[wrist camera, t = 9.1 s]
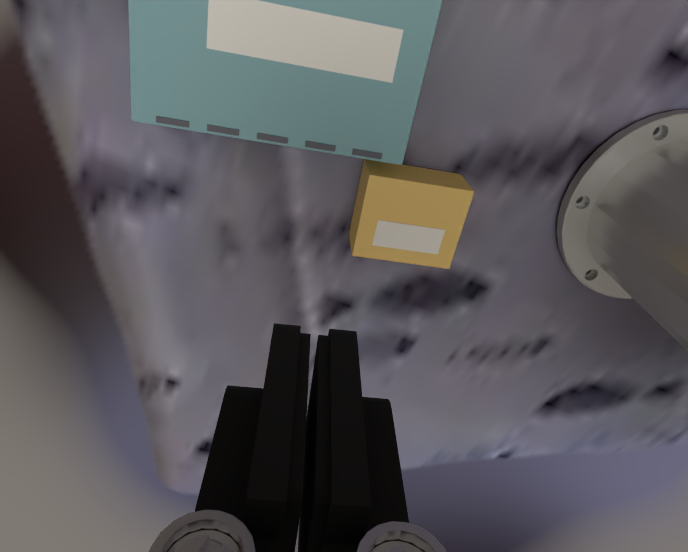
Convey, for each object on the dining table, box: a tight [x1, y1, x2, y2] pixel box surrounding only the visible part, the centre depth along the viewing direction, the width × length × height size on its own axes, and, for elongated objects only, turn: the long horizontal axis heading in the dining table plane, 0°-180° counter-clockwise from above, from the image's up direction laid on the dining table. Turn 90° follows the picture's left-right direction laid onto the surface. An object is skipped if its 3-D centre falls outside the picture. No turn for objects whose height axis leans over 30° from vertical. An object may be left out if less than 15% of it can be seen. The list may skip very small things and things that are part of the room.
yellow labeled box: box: [349, 159, 474, 269], centre depth 30 cm, size 6×5×3 cm
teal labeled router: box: [129, 0, 442, 165], centre depth 25 cm, size 14×8×3 cm, turn 80°
